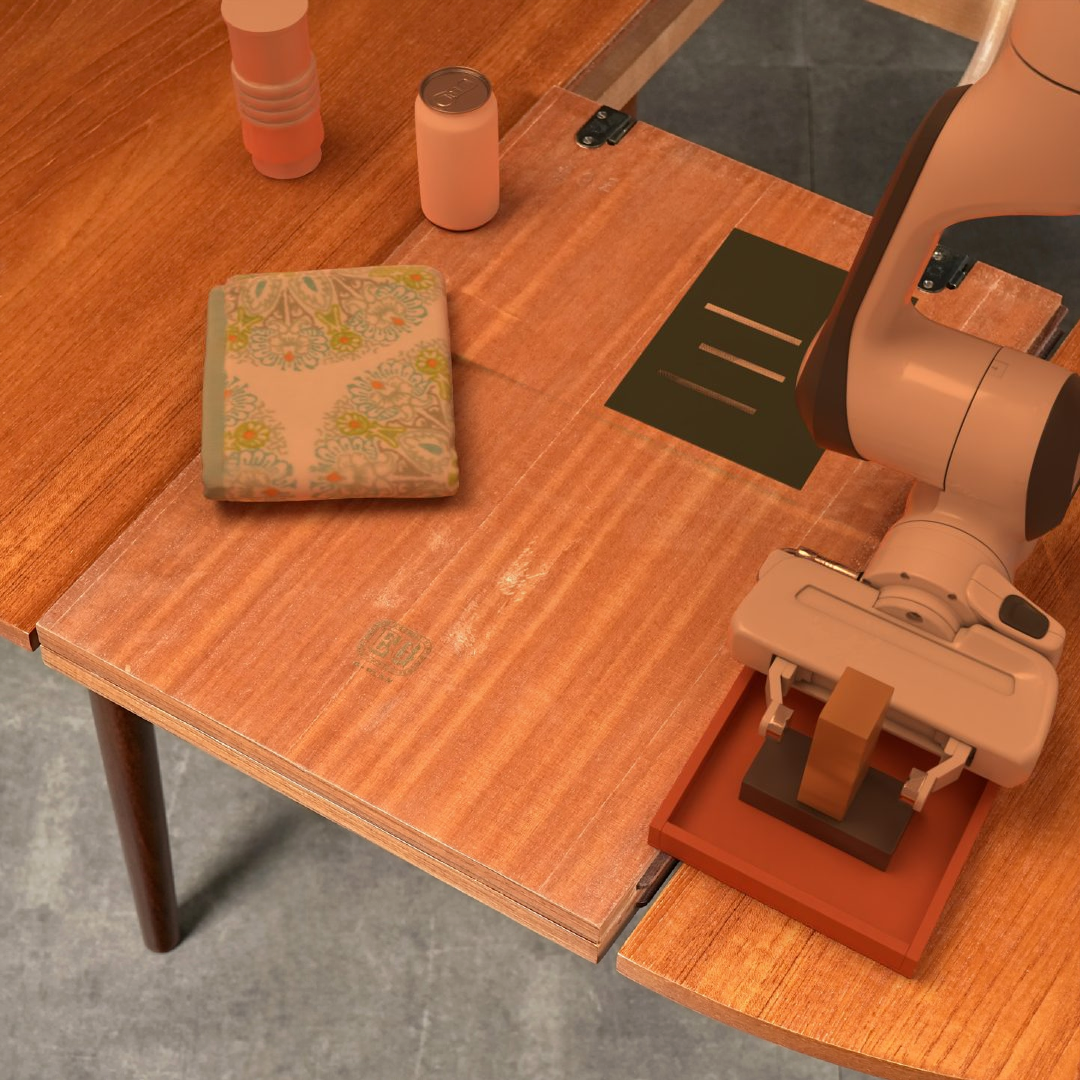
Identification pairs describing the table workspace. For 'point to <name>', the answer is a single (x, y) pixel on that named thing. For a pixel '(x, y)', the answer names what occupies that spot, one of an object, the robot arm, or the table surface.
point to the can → (457, 148)
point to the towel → (329, 386)
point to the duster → (835, 776)
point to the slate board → (738, 358)
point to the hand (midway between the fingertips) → (838, 768)
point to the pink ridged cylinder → (275, 84)
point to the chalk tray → (806, 862)
